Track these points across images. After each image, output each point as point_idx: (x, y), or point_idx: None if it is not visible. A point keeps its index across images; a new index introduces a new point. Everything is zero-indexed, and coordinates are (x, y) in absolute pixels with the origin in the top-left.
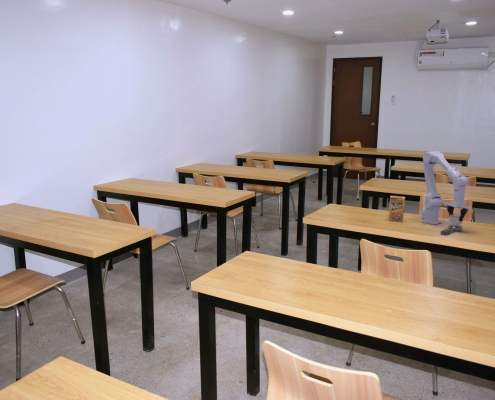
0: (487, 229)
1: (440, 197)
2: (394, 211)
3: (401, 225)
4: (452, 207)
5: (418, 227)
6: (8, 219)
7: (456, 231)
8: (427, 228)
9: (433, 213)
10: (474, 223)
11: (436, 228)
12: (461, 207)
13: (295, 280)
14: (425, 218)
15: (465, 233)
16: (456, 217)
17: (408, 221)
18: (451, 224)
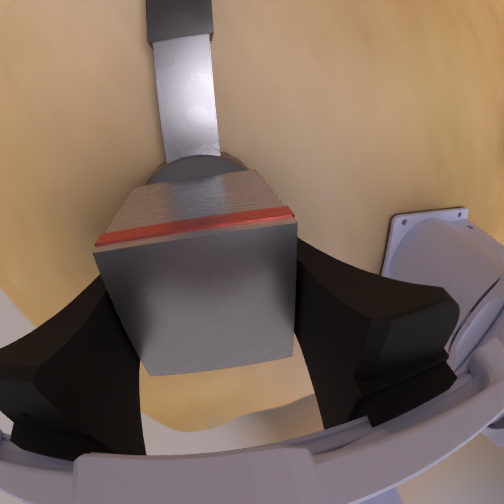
0: None
1: (492, 433)
2: None
3: (489, 38)
4: (354, 416)
5: (432, 46)
6: None
7: (158, 168)
8: (387, 58)
9: (464, 270)
10: (229, 413)
11: (342, 115)
12: (35, 469)
13: None
14: (464, 231)
15: (84, 193)
16: (146, 226)
17: (498, 158)
18: None
